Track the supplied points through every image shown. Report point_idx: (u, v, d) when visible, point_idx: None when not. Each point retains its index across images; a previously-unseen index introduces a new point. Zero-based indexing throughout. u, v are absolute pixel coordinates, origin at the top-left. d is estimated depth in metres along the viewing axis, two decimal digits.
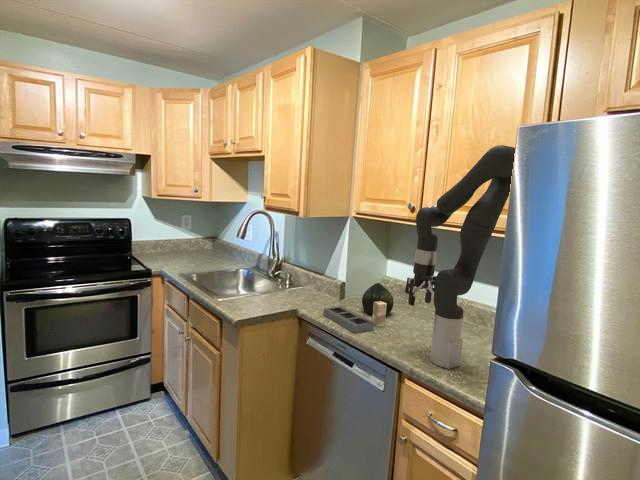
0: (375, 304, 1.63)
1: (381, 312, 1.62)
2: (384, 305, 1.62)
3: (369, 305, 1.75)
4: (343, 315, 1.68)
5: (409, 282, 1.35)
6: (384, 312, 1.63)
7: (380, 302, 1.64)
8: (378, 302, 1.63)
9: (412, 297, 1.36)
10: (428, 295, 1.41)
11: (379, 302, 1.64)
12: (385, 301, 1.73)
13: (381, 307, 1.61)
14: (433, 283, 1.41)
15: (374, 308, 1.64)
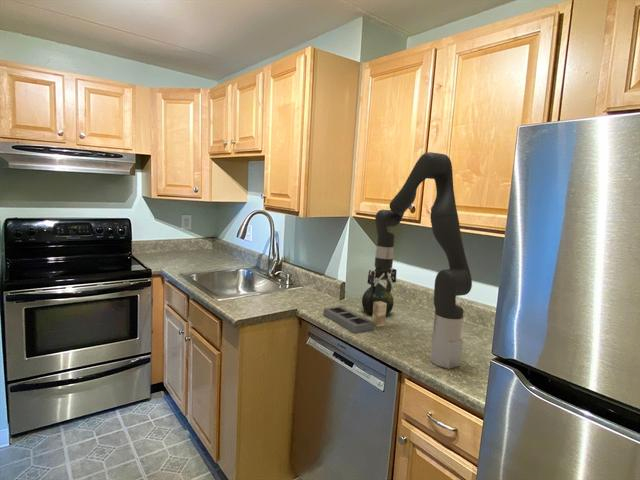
0: (375, 304, 1.63)
1: (381, 312, 1.62)
2: (384, 305, 1.62)
3: (369, 305, 1.75)
4: (343, 315, 1.68)
5: (370, 274, 1.58)
6: (384, 312, 1.63)
7: (380, 302, 1.64)
8: (378, 302, 1.63)
9: (373, 287, 1.59)
10: (388, 285, 1.64)
11: (379, 302, 1.64)
12: (385, 301, 1.73)
13: (381, 307, 1.61)
14: (393, 275, 1.64)
15: (374, 308, 1.64)
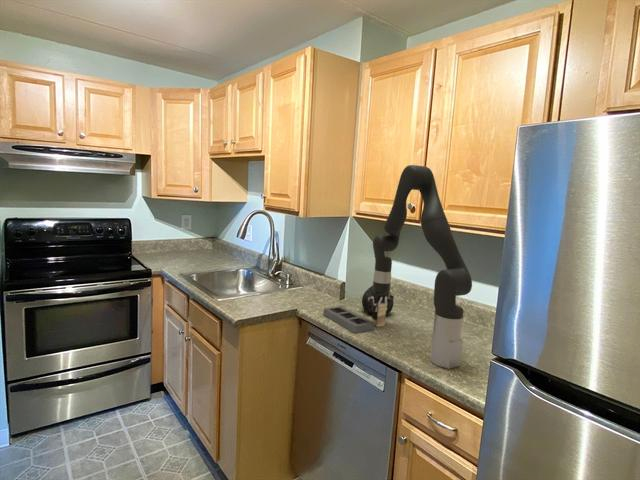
0: None
1: (381, 312, 1.62)
2: (384, 305, 1.62)
3: None
4: (343, 315, 1.68)
5: (369, 301, 1.60)
6: (384, 312, 1.63)
7: None
8: None
9: (375, 312, 1.62)
10: None
11: None
12: None
13: (381, 307, 1.61)
14: (389, 300, 1.65)
15: None
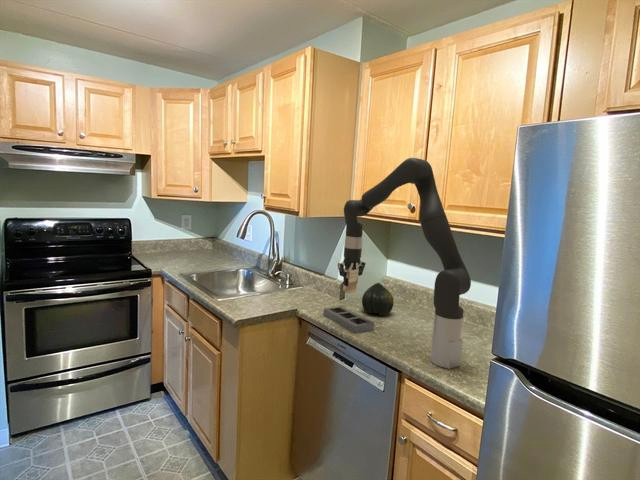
0: None
1: (352, 278, 1.61)
2: (355, 271, 1.61)
3: (369, 305, 1.75)
4: (343, 315, 1.68)
5: (339, 267, 1.59)
6: (355, 278, 1.62)
7: None
8: None
9: (346, 279, 1.60)
10: None
11: None
12: (385, 301, 1.73)
13: (352, 273, 1.60)
14: (360, 267, 1.64)
15: None
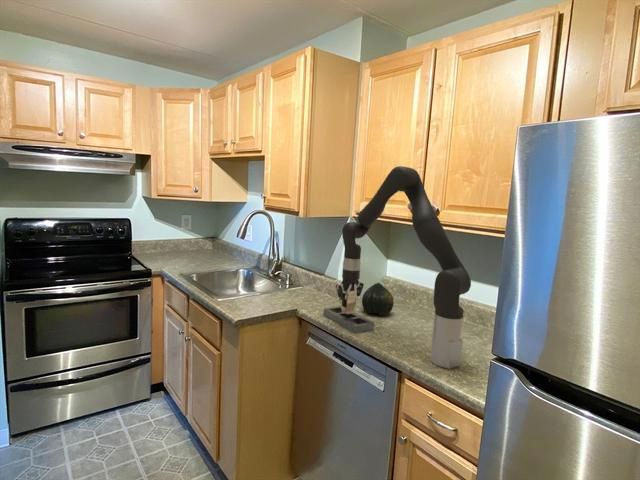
0: None
1: (350, 299, 1.62)
2: (353, 292, 1.62)
3: (369, 305, 1.75)
4: (343, 315, 1.68)
5: (338, 288, 1.60)
6: (353, 299, 1.63)
7: None
8: None
9: (344, 300, 1.62)
10: None
11: None
12: (385, 301, 1.73)
13: (350, 294, 1.61)
14: (359, 288, 1.66)
15: None
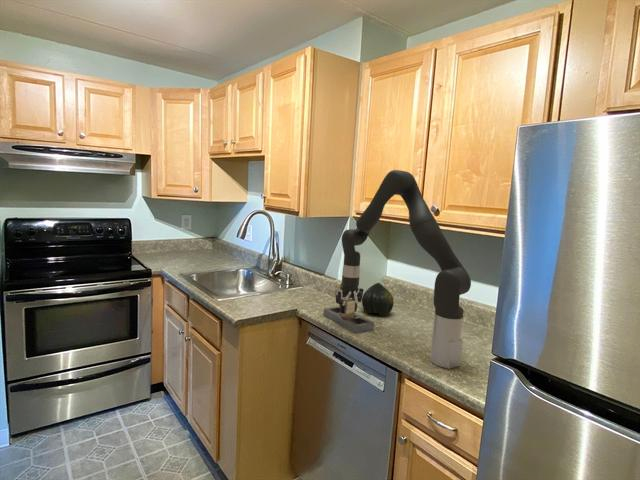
0: None
1: (349, 309, 1.62)
2: (352, 303, 1.63)
3: (369, 305, 1.75)
4: None
5: (337, 294, 1.60)
6: (353, 309, 1.63)
7: (349, 300, 1.64)
8: (347, 300, 1.64)
9: (342, 306, 1.62)
10: None
11: (348, 299, 1.64)
12: (385, 301, 1.73)
13: (349, 304, 1.62)
14: (359, 294, 1.66)
15: None
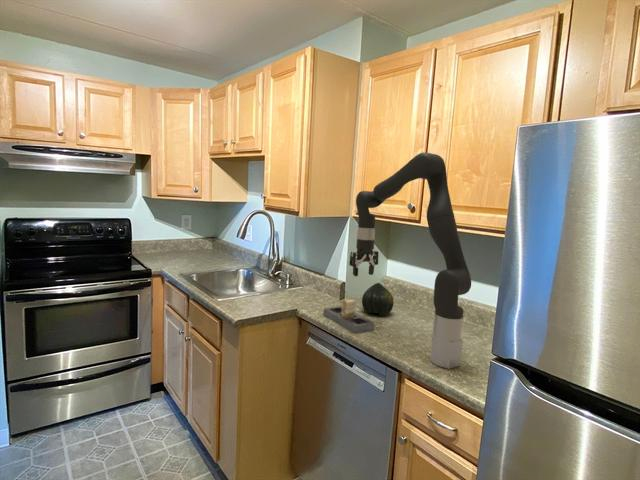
0: (343, 301, 1.64)
1: (349, 309, 1.62)
2: (352, 303, 1.63)
3: (369, 305, 1.75)
4: None
5: (352, 255, 1.57)
6: (353, 309, 1.64)
7: (349, 300, 1.64)
8: (347, 300, 1.64)
9: (355, 268, 1.58)
10: (371, 268, 1.64)
11: (348, 299, 1.64)
12: (385, 301, 1.73)
13: (349, 304, 1.62)
14: (375, 257, 1.64)
15: (343, 306, 1.64)
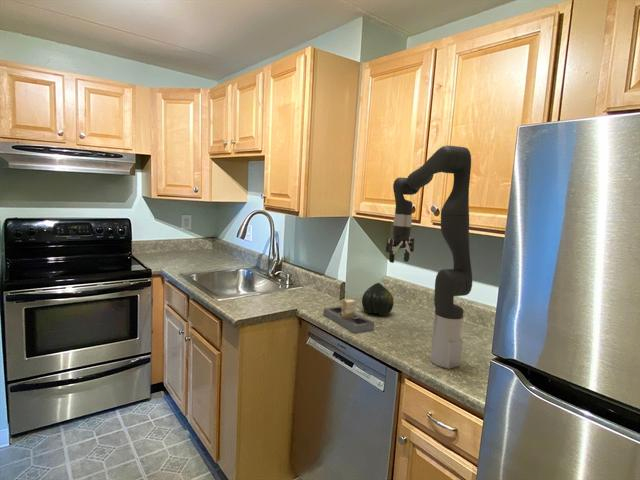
0: (343, 301, 1.64)
1: (349, 309, 1.62)
2: (352, 303, 1.63)
3: (369, 305, 1.75)
4: None
5: (389, 242, 1.58)
6: (353, 309, 1.64)
7: (349, 300, 1.64)
8: (347, 300, 1.64)
9: (392, 255, 1.59)
10: (406, 254, 1.64)
11: (348, 299, 1.64)
12: (385, 301, 1.73)
13: (349, 304, 1.62)
14: (410, 244, 1.65)
15: (343, 306, 1.64)
